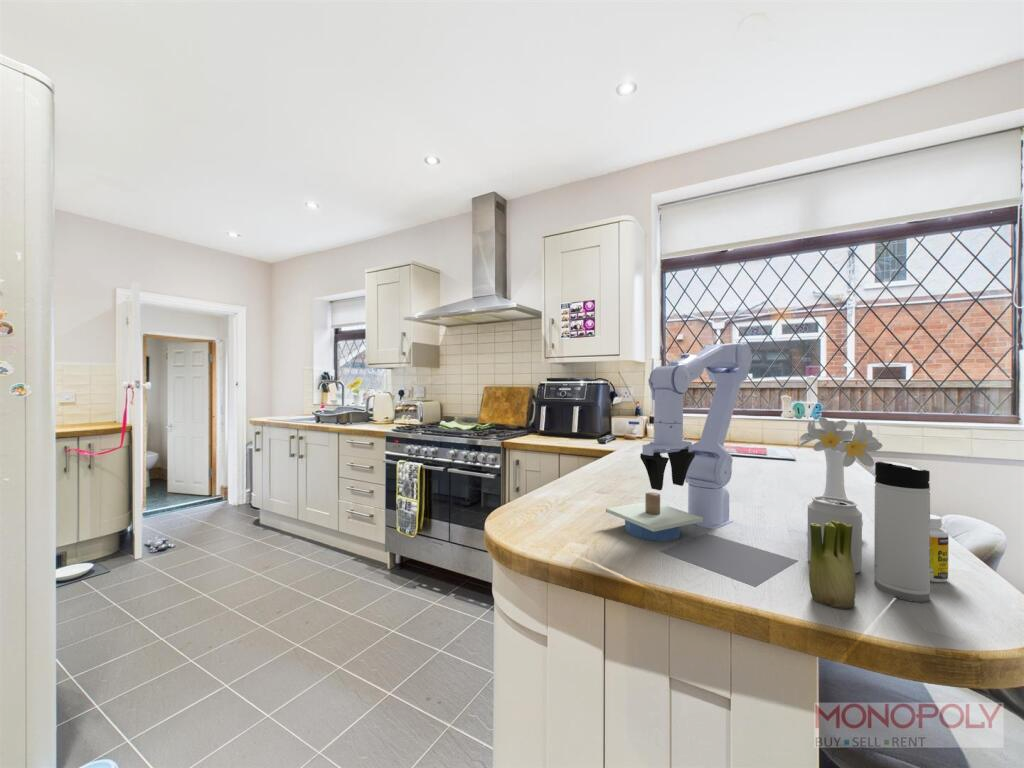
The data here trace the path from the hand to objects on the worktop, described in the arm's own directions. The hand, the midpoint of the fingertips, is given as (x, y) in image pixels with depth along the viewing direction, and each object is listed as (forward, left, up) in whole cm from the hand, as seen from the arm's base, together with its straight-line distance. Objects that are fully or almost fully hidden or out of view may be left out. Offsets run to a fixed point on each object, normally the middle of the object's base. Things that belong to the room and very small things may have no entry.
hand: (667, 487), depth 87 cm
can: (-10, +26, -11) cm, 30 cm away
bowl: (+1, -3, -11) cm, 11 cm away
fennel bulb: (+5, +30, -11) cm, 32 cm away
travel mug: (-8, +35, -11) cm, 37 cm away
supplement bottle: (-19, +36, -11) cm, 42 cm away
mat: (+1, +13, -10) cm, 17 cm away
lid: (+1, -3, -7) cm, 7 cm away
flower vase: (-31, +21, -11) cm, 39 cm away
